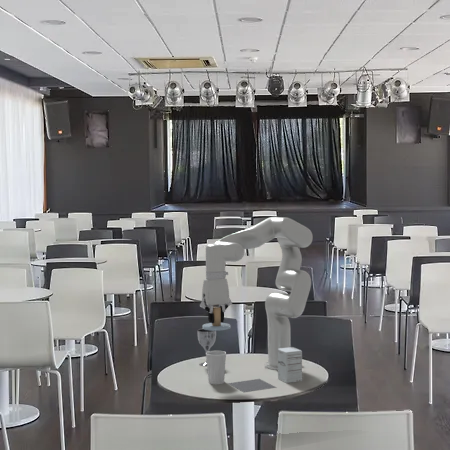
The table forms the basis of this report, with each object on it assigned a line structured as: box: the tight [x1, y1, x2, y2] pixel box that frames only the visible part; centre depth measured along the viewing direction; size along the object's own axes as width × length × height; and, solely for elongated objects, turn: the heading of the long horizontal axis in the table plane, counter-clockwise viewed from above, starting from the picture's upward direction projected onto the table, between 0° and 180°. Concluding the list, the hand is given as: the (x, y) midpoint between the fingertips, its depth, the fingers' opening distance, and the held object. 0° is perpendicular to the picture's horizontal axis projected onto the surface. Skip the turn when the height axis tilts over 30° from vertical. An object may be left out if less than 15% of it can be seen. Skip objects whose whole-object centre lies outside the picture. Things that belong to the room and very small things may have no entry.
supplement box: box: [277, 346, 303, 384], centre depth 308 cm, size 7×7×13 cm
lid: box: [201, 306, 231, 332], centre depth 304 cm, size 11×11×8 cm
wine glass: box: [197, 328, 217, 367], centre depth 336 cm, size 8×8×15 cm
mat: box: [227, 378, 277, 393], centre depth 301 cm, size 14×14×1 cm
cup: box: [205, 350, 227, 385], centre depth 306 cm, size 8×8×12 cm
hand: (216, 321), depth 305 cm, fingers closed on lid, 3 cm apart
